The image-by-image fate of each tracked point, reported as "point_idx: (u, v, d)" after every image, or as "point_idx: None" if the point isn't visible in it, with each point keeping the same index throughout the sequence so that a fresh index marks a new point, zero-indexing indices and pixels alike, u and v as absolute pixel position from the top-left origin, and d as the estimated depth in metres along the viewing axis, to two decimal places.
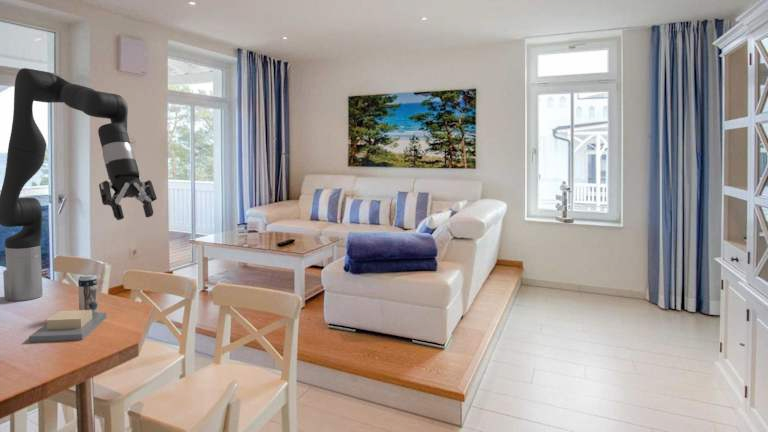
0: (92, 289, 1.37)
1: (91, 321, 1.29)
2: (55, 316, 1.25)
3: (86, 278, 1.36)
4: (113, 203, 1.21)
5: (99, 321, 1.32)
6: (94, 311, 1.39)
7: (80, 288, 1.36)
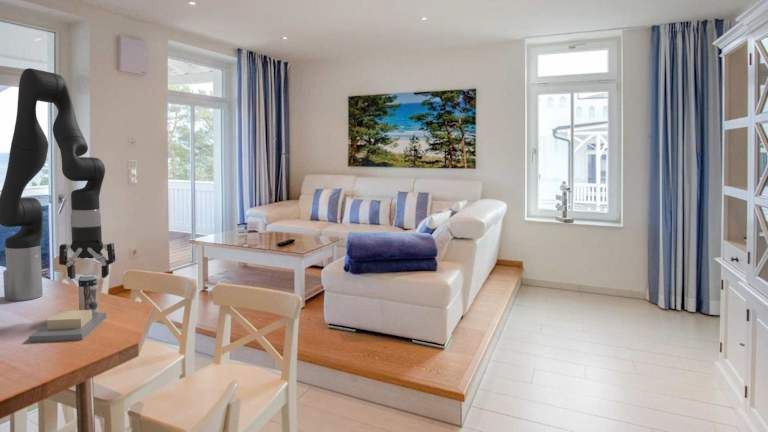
0: (92, 289, 1.37)
1: (91, 321, 1.29)
2: (55, 316, 1.25)
3: (86, 278, 1.36)
4: (66, 265, 1.36)
5: (99, 321, 1.32)
6: (94, 311, 1.39)
7: (80, 288, 1.36)
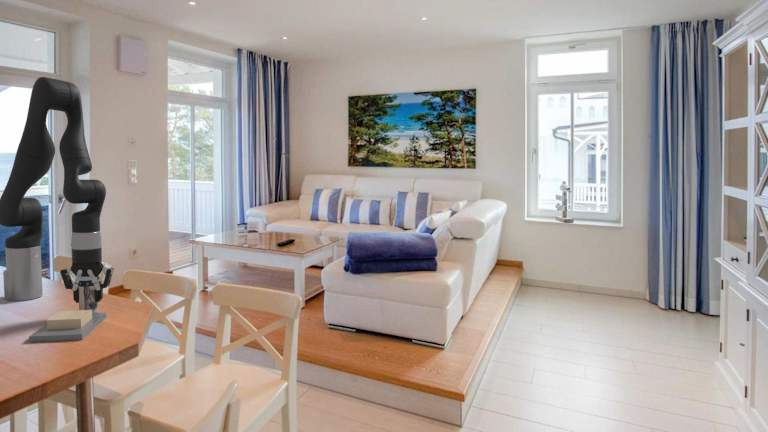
0: (92, 289, 1.37)
1: (91, 321, 1.29)
2: (55, 316, 1.25)
3: (86, 278, 1.36)
4: (72, 289, 1.37)
5: (99, 321, 1.32)
6: (94, 311, 1.39)
7: (80, 288, 1.36)
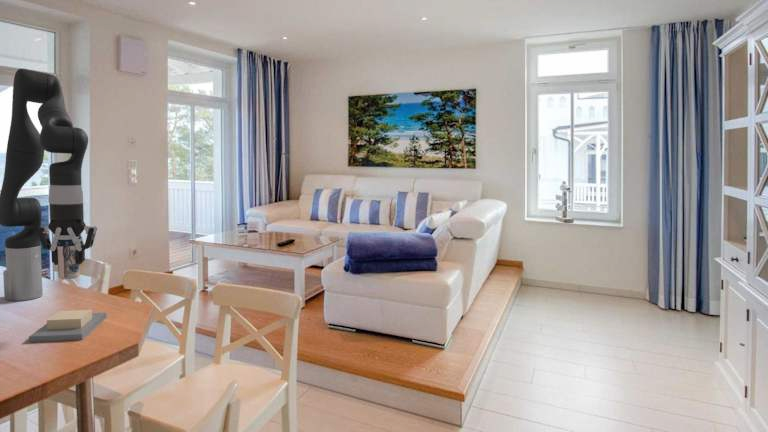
0: (72, 249, 1.23)
1: (91, 321, 1.29)
2: (55, 316, 1.25)
3: (66, 237, 1.22)
4: (50, 249, 1.23)
5: (99, 321, 1.32)
6: (75, 274, 1.25)
7: (59, 248, 1.22)
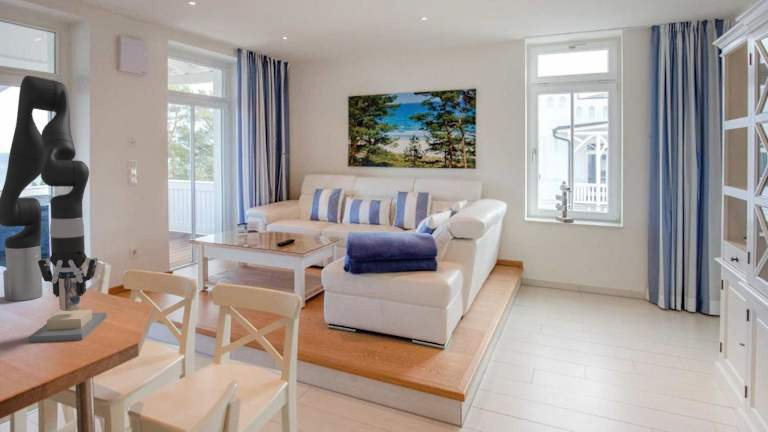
0: (74, 281, 1.24)
1: (91, 321, 1.29)
2: (55, 316, 1.25)
3: (67, 269, 1.23)
4: (51, 281, 1.24)
5: (99, 321, 1.32)
6: (76, 306, 1.26)
7: (60, 280, 1.23)
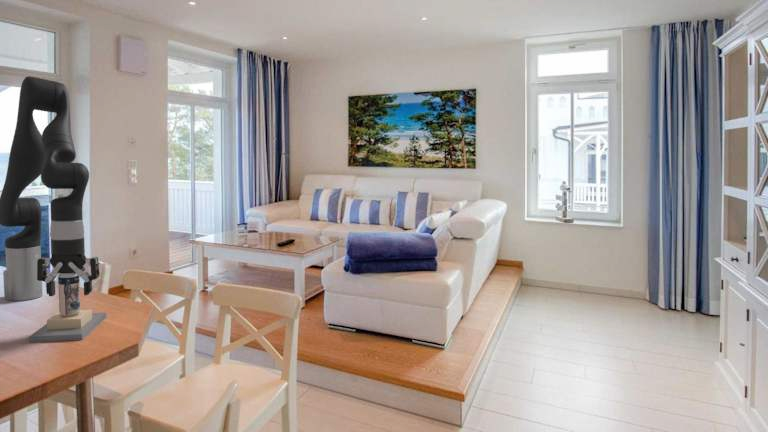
0: (73, 287, 1.25)
1: (91, 321, 1.29)
2: (55, 316, 1.25)
3: (67, 275, 1.23)
4: (45, 281, 1.23)
5: (99, 321, 1.32)
6: (76, 311, 1.26)
7: (60, 286, 1.24)
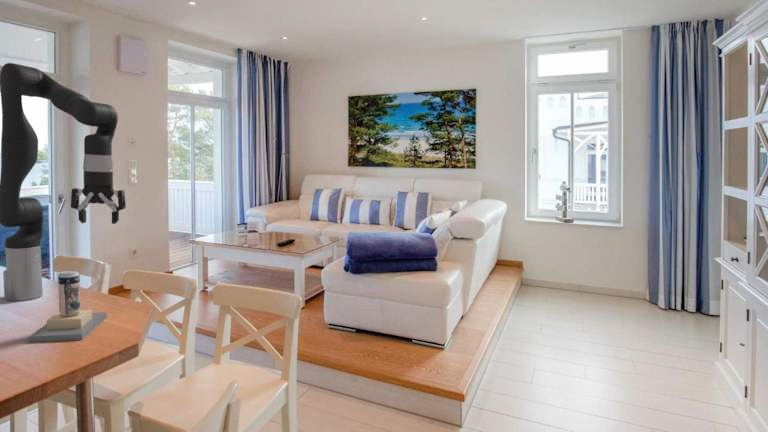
0: (74, 287, 1.25)
1: (91, 321, 1.29)
2: (55, 316, 1.25)
3: (67, 275, 1.23)
4: (77, 208, 1.38)
5: (99, 321, 1.32)
6: (76, 311, 1.26)
7: (60, 286, 1.24)
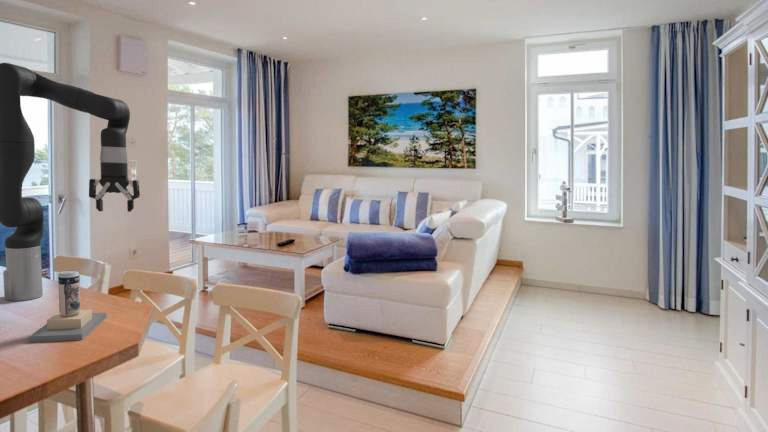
0: (74, 287, 1.25)
1: (91, 321, 1.29)
2: (55, 316, 1.25)
3: (67, 275, 1.23)
4: (95, 198, 1.47)
5: (99, 321, 1.32)
6: (76, 311, 1.26)
7: (60, 286, 1.24)
